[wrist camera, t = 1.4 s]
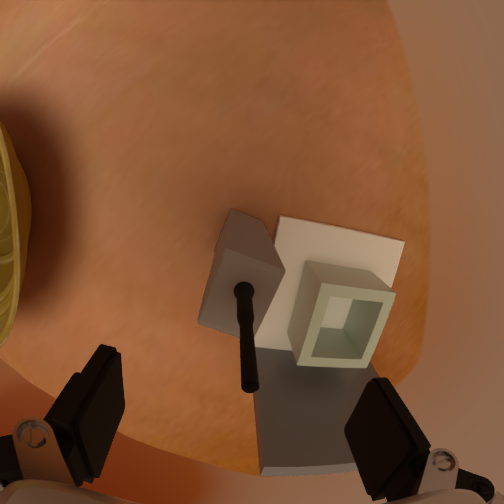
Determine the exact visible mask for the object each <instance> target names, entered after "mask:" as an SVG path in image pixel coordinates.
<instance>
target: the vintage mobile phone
mask: <svg viewBox="0 0 504 504" xmlns="http://www.w3.org/2000/svg"><path fill="white" fill-rule="evenodd" d="M214 252H215V254H214V258H213V263H212V267H211V271H210V275H209V278H208V281H207V285H206V288H205V292H204V296H203V300H202V304H201V308H200V312H199V315H198V324H200V325H203V326H206V327H209V328H212V329H215V330H218V331H221V332H224V333H227V334H230V335H233V336H236V337H239V338H240V358H241V387H242V390H243V391H244V392H246V393H254V392H256V391H258V389H259V378H258V369H257V360H256V351H255V341H254V337H255V335H256V333H257V331H258V329H259V327H260V325H261V323H262V321H263V319H264V317H265V315H266V313H267V311H268V308H269V306H270V304H271V302H272V300H273V298H274V296H275V294H276V292H277V290H278V287H279V285H280V283H281V281H282V279H283V277H284V275H285V272H286V270H285V268H284V266H283V263H282V261H281V259H280V257H279V255H278V253H277V251H276V248H275V246H274V244H273V242H272V240H271V238H270V236H269V234H268V231H267V229H266V227H265V225H264V223H263V221H262V220H260V219H257V218H255V217H252V216H249V215H247V214H244V213H242V212H239V211H237V210H234V209H232V208H231V209H230V211H229V214H228V216H227V219H226V221H225V224H224V226H223V229H222V231H221V234H220V237H219V239H218V242H217V244H216V247H215V250H214Z"/></svg>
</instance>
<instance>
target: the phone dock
mask: <svg viewBox="0 0 504 504" xmlns="http://www.w3.org/2000/svg"><path fill="white" fill-rule="evenodd" d="M404 243H405V242H404V241H402V240H400V239H396V238H391V237H387V236H382V235H378V234H373V233H369V232H364V231H359V230H355V229H350V228H345V227H340V226H335V225H331V224H326V223H321V222H316V221H310V220H305V219H300V218H295V217H289V216H284V215H279V216H278V221H277V226H276V231H275V236H274V241H273V244H274V246H275V248H276V251H277V253H278V255H279V257H280V259H281V261H282V263H283V266H284V268H285V270H286V272H285V275H284V277H283V279H282V281H281V283H280V285H279V287H278V290H277V292H276V294H275V296H274V298H273V300H272V302H271V304H270V306H269V308H268V311H267V313H266V315H265V317H264V319H263V321H262V323H261V325H260V327H259V329H258V331H257V333H256V335H255V337H254V341H255V351H256V360H257V369H258V378H259V389H258V391H256V392H254V393H253V398H254V410H255V422H256V434H257V445H258V457H259V468H260V476H300V475H319V474H331V473H341V472H350V471H358V468H357V466H356V463H355V460H354V458H353V455H352V452H351V450H350V447H349V445H348V442H347V439H346V437H345V434H344V428H345V425H346V423H347V421H348V420H349V418H350V416H351V414H352V412H353V410H354V408H355V406H356V404H357V402H358V400H359V398H360V396H361V394H362V392H363V390H364V388H365V386H366V384H367V383H368V382H369V381H371V379H372V378H380V377H379V375H378V374H377V372H376V371H375V369H374V367H373V366H372V364H371V363H370V360H371V357H372V355H373V353H374V350H375V348H376V346H377V343H378V341H379V338H380V336H381V333H382V331H383V328H384V326H385V323H386V320H387V318H388V315H389V312H390V310H391V307H392V304H393V301H394V299H395V296H396V292H395V291H394V290H392V289H391V287H392V284H393V281H394V277H395V274H396V271H397V268H398V264H399V261H400V258H401V254H402V251H403V247H404Z"/></svg>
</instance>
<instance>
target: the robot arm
mask: <svg viewBox="0 0 504 504" xmlns="http://www.w3.org/2000/svg"><path fill="white" fill-rule="evenodd" d="M124 409H125V399H124V389H123V377H122V363H121V353H119V352H117V350H116V348H115V347H111V346H107V345H103V344H100V345H99V347H98V348H97V350H96V351H95V353H94V354H93V355H92V357H91V358H90V360H89V361H88V363H87V364H86V366H85V367H84V369H83V370H82V372H81V373H78V372H76V373H74V374H73V375H72V377H71V378H70V380H69V381H68V383H67V384H66V386H65V387H64V389H63V390H62V392H61V393H60V395H59V396H58V398H57V399H56V401H55V402H54V404H53V405H52V407H51V409H50V410H49V412H48V413H47V415H46V416H45V418H44V419H43V420H42V419H41V418H36V417H27V418H23V419H21V420H20V421H18V422H17V423H16V424H15V425H14V428H13V431H12V432H13V433H12V435H7V436H2V437H0V504H141V503H136V502H132V501H128V500H124V499H120V498H116V497H113V496H109V495H106V494H102V493H98V492H95V491H91V490H88V489H84V488H81V487H79V486H81V485H82V483H83V481H86V482H89V483H92V482H93V480H94V477H96V478H99V477H100V474H101V471H102V469H103V466H104V463H105V460H106V457H107V455H108V452H109V449H110V447H111V444H112V441H113V439H114V436H115V433H116V431H117V428H118V426H119V423H120V421H121V418H122V416H123V413H124ZM344 434H345V437H346V439H347V442H348V445H349V447H350V450H351V452H352V455H353V458H354V460H355V463H356V466H357V468H358V471H359V474H360V476H361V479H362V481H363V484H364V487H365V490H366V492H367V494H368V495H371V498H372V501H376V500H380V499H384V498H385V497H386V499H387V503H383V504H504V496H503V495H502V494H500V493H499V492H496V493H495V494H494V486H493V484H492V483H491V481H489V480H488V479H486V478H485V477H482V476H479V475H476V474H473V473H470V472H467V471H465V470H462V469H459V468H458V467H459V462H458V459H457V457H456V456H455V455H454V454H453V453H452V452H451V451H449V450H447V449H443V448H437V449H434V450H432V451H431V452H430V450H429V448H430V446H431V445H430V443H429V441H428V440H427V438H426V437H425V435H424V434H423V432H422V430H421V429H420V427H419V426H418V424H417V422H416V421H415V419H414V418H413V416H412V415H411V413H410V412H409V410H408V408H407V407H406V405H405V404H404V402H403V401H402V399H401V398H400V396H399V395H398V393H397V392H396V390H395V389H394V387H393V386H392V384H391V383H390V381H389V380H388V379H387V378H385V377H384V378H372V379H371V381H369V382H368V383H367V384H366V386H365V388H364V390H363V392H362V394H361V396H360V398H359V400H358V402H357V404H356V406H355V408H354V410H353V412H352V414H351V416H350V418H349V420H348V421H347V423H346V425H345V428H344Z"/></svg>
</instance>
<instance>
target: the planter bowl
mask: <svg viewBox="0 0 504 504" xmlns="http://www.w3.org/2000/svg"><path fill="white" fill-rule="evenodd" d="M31 220H32V204H31V194H30V189H29V184H28V181H27V178H26V174H25V172H24V170H23V168H22V165H21V164H20V162H19V160H18V158H17V155H16V152H15V149H14V146H13V144H12V141H11V139H10V137H9V134H8V132H7V130H6V129H5V127H4V125H3V124H2V122H1V121H0V347H1V346H2V345H3V343H4V342H5V341H6V339H7V338H8V336H9V334H10V332H11V329H12V327H13V324H14V321H15V316H16V312H17V307H18V300H19V295H20V292H21V289H22V285H23V280H24V276H25V269H26V262H27V249H28V239H29V235H30V229H31Z"/></svg>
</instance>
